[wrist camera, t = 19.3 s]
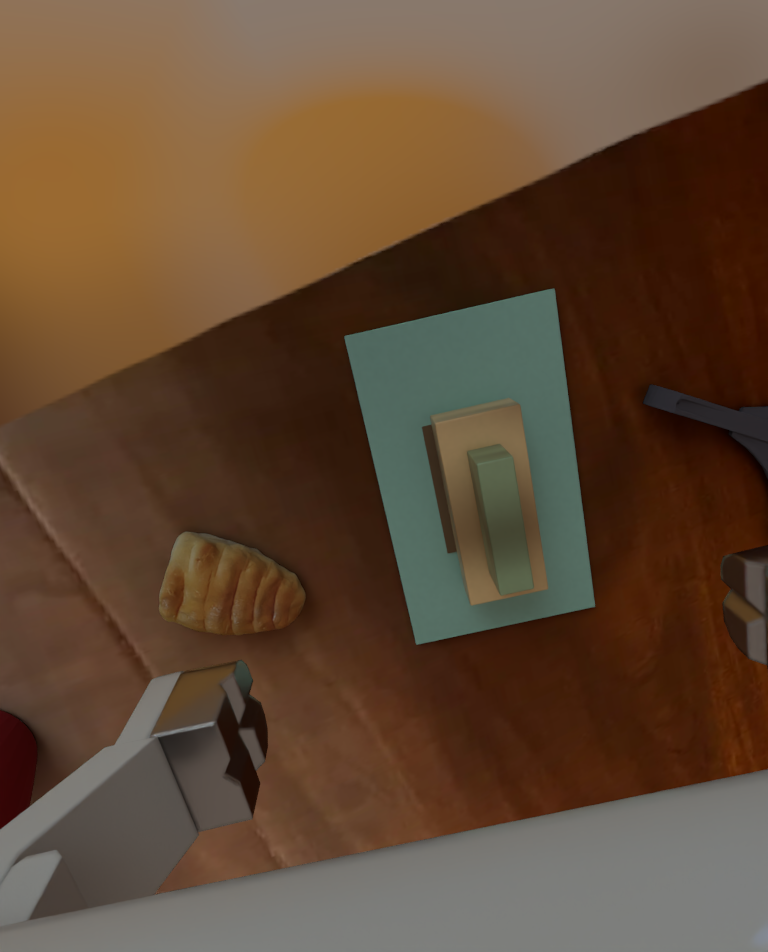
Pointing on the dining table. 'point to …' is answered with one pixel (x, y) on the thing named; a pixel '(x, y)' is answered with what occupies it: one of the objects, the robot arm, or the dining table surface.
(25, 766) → the vase
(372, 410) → the mat
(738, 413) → the bracket
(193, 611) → the pastry
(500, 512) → the brush
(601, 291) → the dining table surface
